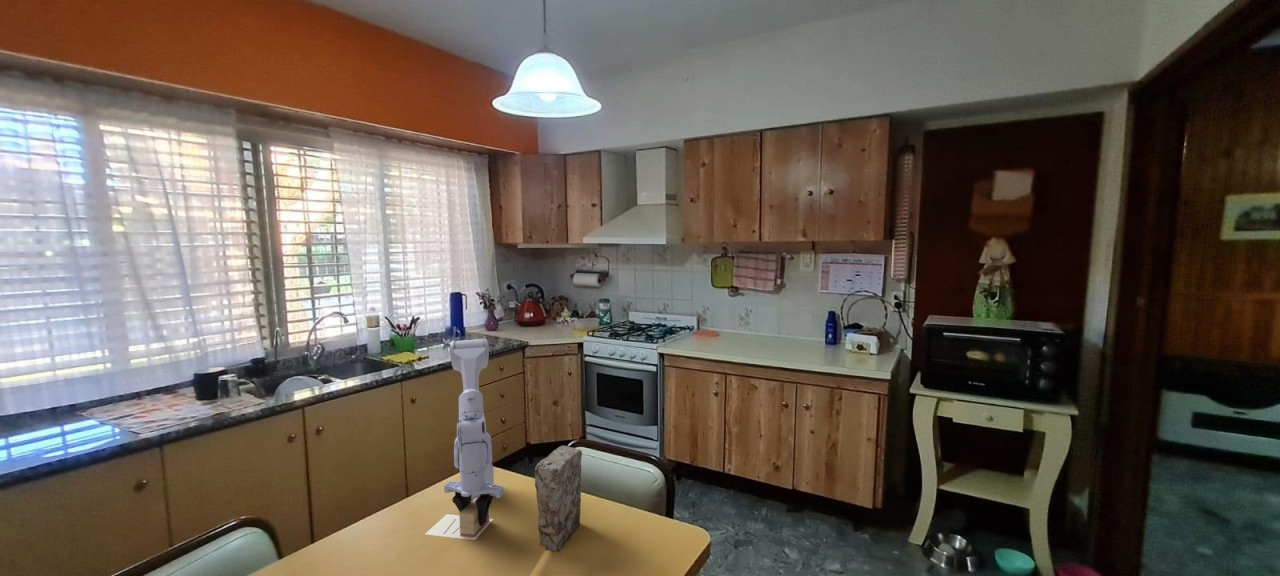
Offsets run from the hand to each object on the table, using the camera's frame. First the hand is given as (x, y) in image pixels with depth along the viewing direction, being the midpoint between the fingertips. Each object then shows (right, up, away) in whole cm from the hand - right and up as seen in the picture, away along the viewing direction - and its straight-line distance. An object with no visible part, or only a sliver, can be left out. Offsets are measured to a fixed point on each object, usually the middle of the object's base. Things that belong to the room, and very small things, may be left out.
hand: (474, 522), depth 116 cm
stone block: (+21, -3, -1) cm, 21 cm away
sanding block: (0, -1, 0) cm, 1 cm away
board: (-4, -3, +1) cm, 5 cm away
